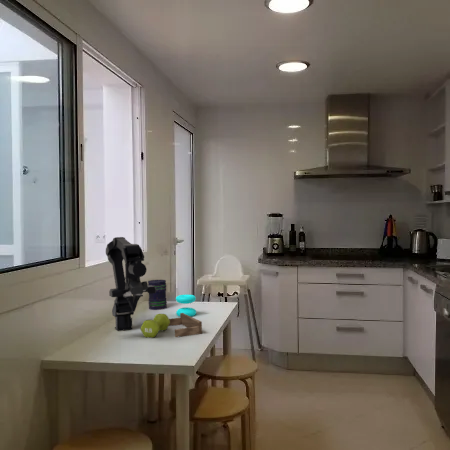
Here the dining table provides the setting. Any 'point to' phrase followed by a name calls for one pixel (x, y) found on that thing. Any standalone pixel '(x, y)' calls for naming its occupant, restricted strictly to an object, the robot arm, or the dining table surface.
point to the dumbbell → (155, 325)
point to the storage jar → (158, 295)
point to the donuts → (185, 300)
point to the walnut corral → (186, 325)
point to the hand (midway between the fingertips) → (133, 311)
